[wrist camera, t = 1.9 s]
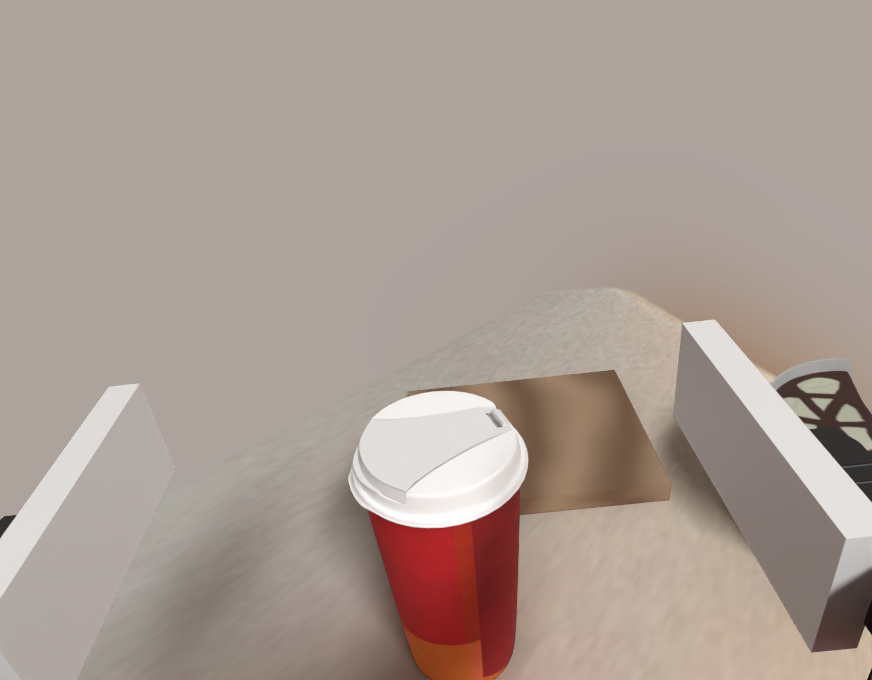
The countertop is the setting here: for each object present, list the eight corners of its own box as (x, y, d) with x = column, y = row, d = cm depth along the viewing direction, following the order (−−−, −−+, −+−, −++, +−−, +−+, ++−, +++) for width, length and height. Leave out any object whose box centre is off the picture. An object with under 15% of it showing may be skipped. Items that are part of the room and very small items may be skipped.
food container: (722, 465, 46) (742, 348, 41) (818, 474, 45) (850, 353, 40) (747, 613, 36) (776, 482, 31) (871, 631, 35) (924, 496, 30)
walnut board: (409, 525, 45) (406, 510, 44) (409, 405, 57) (407, 391, 56) (669, 499, 44) (671, 483, 43) (613, 384, 56) (614, 369, 55)
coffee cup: (497, 561, 41) (482, 367, 34) (562, 674, 34) (562, 463, 27) (372, 609, 39) (325, 414, 31) (415, 739, 32) (369, 530, 25)
